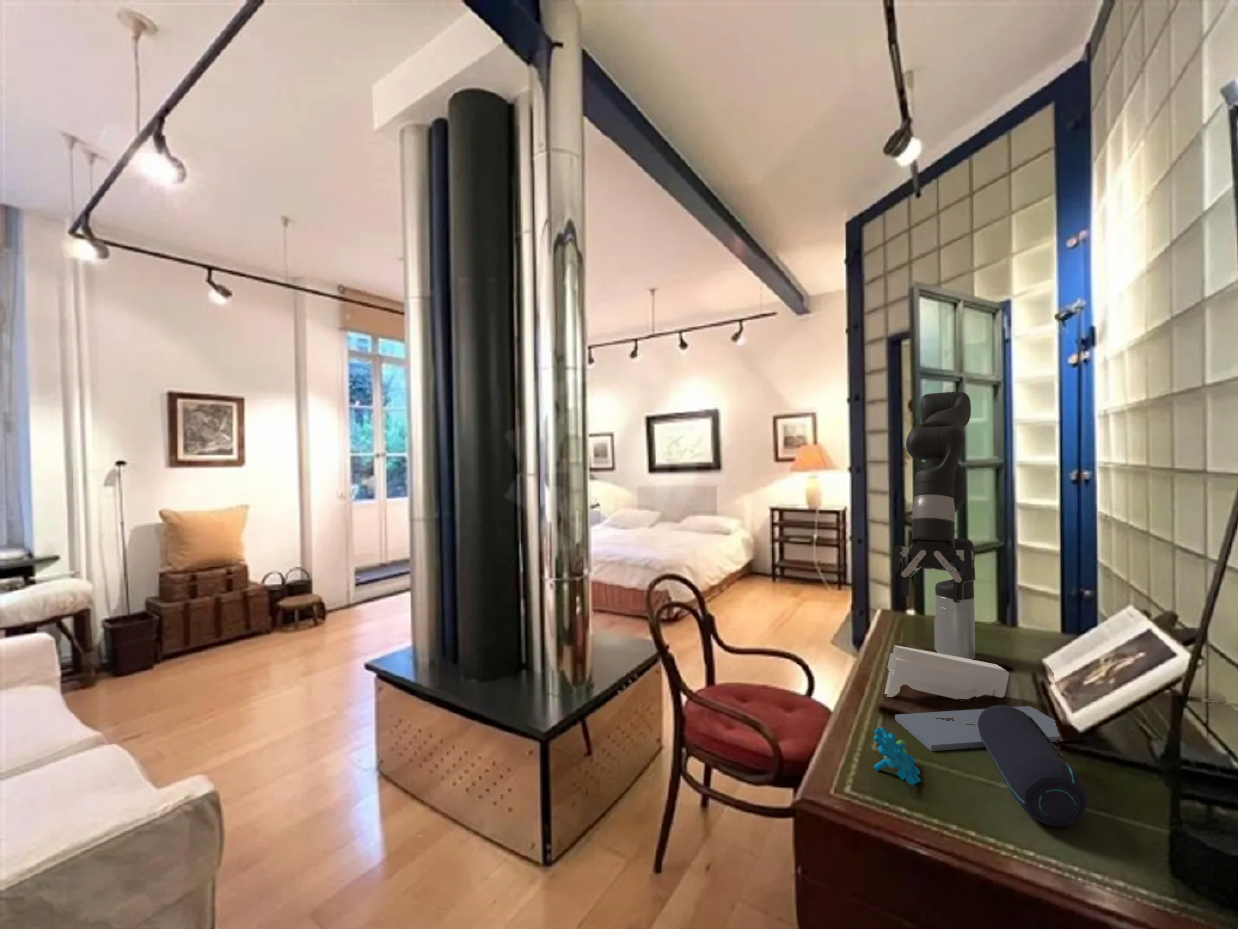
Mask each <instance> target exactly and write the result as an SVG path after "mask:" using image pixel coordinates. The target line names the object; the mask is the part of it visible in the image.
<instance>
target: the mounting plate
mask: <svg viewBox="0 0 1238 929" xmlns="http://www.w3.org/2000/svg"><path fill="white" fill-rule="evenodd" d="M1013 707H1014V708H1016V709H1018V710H1021V711H1022V712H1024V713H1026V714H1028V715H1029V716H1030V717H1031V718H1032V719H1033V720H1034V721H1035V722H1036V723H1037V724H1038V726H1039V727H1040V728H1041V729H1042V731H1043V732H1044V733H1045V734H1046V736H1047V737H1048V738H1049V739H1050V741H1051V742H1055V741H1057V739H1058V738H1059V736H1060V735H1059V733H1058V731H1057V727H1056V723H1055V721H1056V720H1055V719H1053V717H1052V718H1051V717H1050V716H1048V715H1046V714H1044V713H1043V712H1041V711H1040V710H1037V709H1036V708H1034V707H1032V706H1030V705H1025V706H1022V705H1020V706H1013ZM985 709H986V708H979V709H978V708H975V709H961V710H948V711H947V710H946V711H931V712H915V713H914V712H913V713H899V714H895V715H894V720H895V721H896V722H897V723H898V724H899V725H900V724H901V725H900V726H901V727H902V728H904V730H906V731H907V730H908V731H907V732H908V733H910V735H912V736H913V737H915V739H916V740H918V742H920V743H921V744H922V745H924V747H926V749H928V750H929V751H930V752H937V751H938V752H939V751H950V750H951V751H952V750H969V749H968V748H970V749H982V748H986V747H985V746H984V744H983V742H982V740H981V737H980V733H979V728H978V719H979V716H980V715H981V713H982V712H983V711H984V710H985ZM936 718H954V719H953V720H955V721H952V720H950V721H946V720H945V719H944V720H942V719H936ZM966 724H975V725H966ZM974 726H975V727H974Z"/></svg>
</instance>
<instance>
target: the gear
mask: <svg viewBox="0 0 1238 929" xmlns="http://www.w3.org/2000/svg"><path fill="white" fill-rule="evenodd" d="M873 733H874V734H875V735H874V736H873V741H875V743H877V744H878V745H879V746H877V751H878V753H879V754H880V755H882V756H883V759H881V760H880V761H878V762H877V763H876V764H874V765H873V768H874V770H875V771H877V772H879V771H880V770H882V769H884V768H885V767H887V766H888V767H889V768H890V769H893V768H895V767H896V768H897V770H898V771H897V772H896V775H897V776H898V777H899V778H900V779H901V780H902V781H903V780H905V779H906V782H907V783H908V784H909V785H911V786H914V785H916V784H918V783H919V782H921V781H922V779H921V778H920V777H919V775H920V774H921V772H920V771H921V770H920V769H919V767H917V766H916V765H914V764H915V763H916V762H915V759H914V756H912V755H910V754H908V751H907V749H908V748H907V747H906V742H905V741H904V740H903V739H902V738H901V739H899V740H897V736H896V735H895V734H894V733H893V732H892V731H891V732H890V733H889V732H888V730H887V729H886V728H885V727H883V726H881V727H878V728H875V729H874V730H873ZM896 740H897V741H896Z"/></svg>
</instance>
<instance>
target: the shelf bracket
mask: <svg viewBox="0 0 1238 929" xmlns="http://www.w3.org/2000/svg"><path fill="white" fill-rule="evenodd" d="M886 669H888V676H887V679H886V684H885V690H884V694H887V695H886V698H887V697H891V698H894V697H895V696H897V695H898V694H899V693H900V692H901V687H902V686H909V688H911V689H912V690H915V691H919V692H924V693H928V694H932V695H937V696H940V697H941V696H942V697H946V698H950V699H953V700H958V699H972V698H974V697H975V698H979V697H982V696H984V695H985V696H986V695H987V696H994V697H997V698H1003V697H1005V695H1006V692H1007V691H1006V690H1007V686H1008V682H1009V681H1008V680H1009V678H1010V677H1009V676H1010V672H1009V671H1007V669H1005V668H1003V667H1002V666H999V665H998V664H995V663H992V662H991V663H989V662H987V661H986V662H985V661H981V660H976V659H975V660H971V659H966V658H962V657H957V656H951V655H946V654H940V653H936V651H935V652H934V651H928V650H923V649H918V648H913V647H906V646H900V645H895V644H894V646H893V649H892V653H891V652H890V653H889V658H888V663H887V667H886Z"/></svg>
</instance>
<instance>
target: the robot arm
mask: <svg viewBox="0 0 1238 929" xmlns="http://www.w3.org/2000/svg"><path fill="white" fill-rule="evenodd" d="M971 412H972V406H971V399H970V397H969V394H967V393H966V392H963V391H946V392H935V393H926V394H924V395H922V397H921V399H920V403H919V415H920V424H919V425H915V427H913V428H912V429H910V431H909V433H908V435H907V437H906V440H905V448H906V449H905V450H906V452H907V453H908V454H909V456H910V457H911V458H912V459H915V460H919V461H925V462H924V463H925V464H924V465H925V466H924V467H925V468H924V469H920V470H919V471H917V472H916V474H915V478H914V500H913V504H912V513H911V518H912V519H911V520H912V522H911V525H912V526H911V543H910V546H901V545H899V544H895V545H894V549H893V558H892V565H891V566H892V567H891V572H892V573H893V574H895V575H898V576H900V577H901V592H902V594H904V596H905V597H906V598H912V597H913V596H912V592H913V579H912V576H913V575H914V574H915V573H917V572H918V571H919V570H920V569H921V568H922V569H924V570H933V569H934V570H938V571H946V572H947V573H948V574H949V575H950V576H951V577H952V579H949V580H948V579H947V580H943V581H942V580H941V581H939V582H937V583H936V584H935V587H934V590H935V592H934V594H935V597H934V598H935V617H934V618H933V627H934V628H933V634H934V635H933V636H934V637H933V638H934V651H935V650H936V651H935V653H936V652H937V653H940V654H946V655H951V656H957V657H962V658H966V659H971V660H973V659H975V660H976V632H975V631H976V630H975V628H976V626H975V625H976V623H975V621H976V620H975V616H976V615H975V586H974V584H975V583H974V582H975V581H976V570H975V569H976V568H975V561H976V559H975V556H976V554H975V553H976V552H975V545H974V543H973V541H972V540H970V539H967V538H956V536H955V535H956V534H955V533H956V532H955V529H956V513H957V511H958V510H959V509H960V508H961V506H962V505H963V504H964V502H965V501H966V497H967V482H966V480H967V479H966V473H965V470H964V469H963V467H962V466H961V464H960V463H959V461H960V459H961V456H962V454H963V450H964V447H965V445H966V444H965V443H966V442H965V440H966V439H965V435H964V433H963V431H962V429H963V428H964V427H966V426H967V425H968V424H969V422H970V419H971V416H972V415H971ZM908 553H909V554H910V555H911V557H912V560H911V561H910V562H909V563H908V564H907V566H906V567H905V568H904V570H903V566H904V565H903V564H904V557H906V556H907V555H908Z"/></svg>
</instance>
